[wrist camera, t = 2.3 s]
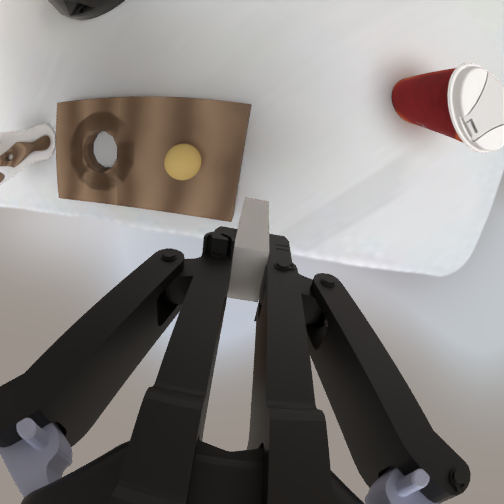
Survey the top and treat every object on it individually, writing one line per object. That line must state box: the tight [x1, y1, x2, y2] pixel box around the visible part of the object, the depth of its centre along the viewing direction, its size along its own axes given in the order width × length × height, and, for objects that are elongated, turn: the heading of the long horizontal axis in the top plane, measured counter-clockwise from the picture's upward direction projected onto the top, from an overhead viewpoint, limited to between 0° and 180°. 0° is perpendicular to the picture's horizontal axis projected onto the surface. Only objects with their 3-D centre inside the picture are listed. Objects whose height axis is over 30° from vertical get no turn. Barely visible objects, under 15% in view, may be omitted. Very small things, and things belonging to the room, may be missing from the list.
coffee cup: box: [392, 63, 504, 153], centre depth 19 cm, size 8×8×15 cm
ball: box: [164, 144, 201, 180], centre depth 27 cm, size 4×4×4 cm
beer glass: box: [0, 123, 55, 185], centre depth 23 cm, size 7×7×15 cm
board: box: [56, 97, 251, 222], centre depth 30 cm, size 26×14×2 cm, turn 81°
